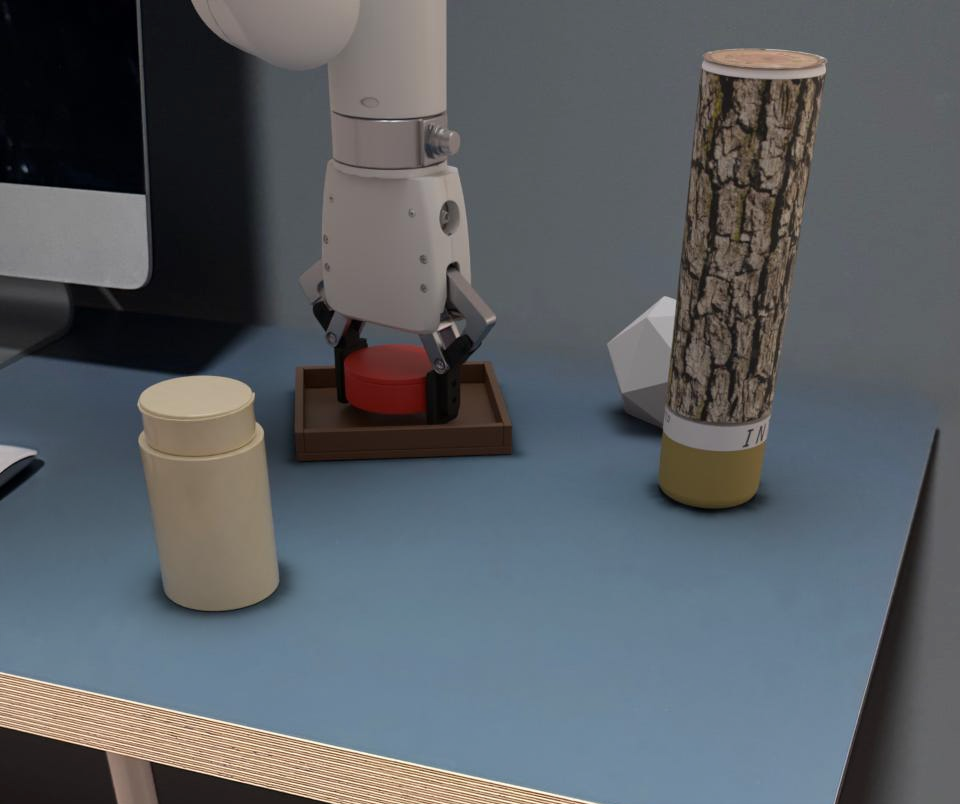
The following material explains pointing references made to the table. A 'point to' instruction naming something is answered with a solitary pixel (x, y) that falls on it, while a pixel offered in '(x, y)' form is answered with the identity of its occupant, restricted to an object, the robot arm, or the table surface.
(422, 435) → the tray
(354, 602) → the table surface
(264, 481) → the jar
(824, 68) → the paper tube
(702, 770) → the table surface
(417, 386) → the jar lid
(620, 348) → the die
